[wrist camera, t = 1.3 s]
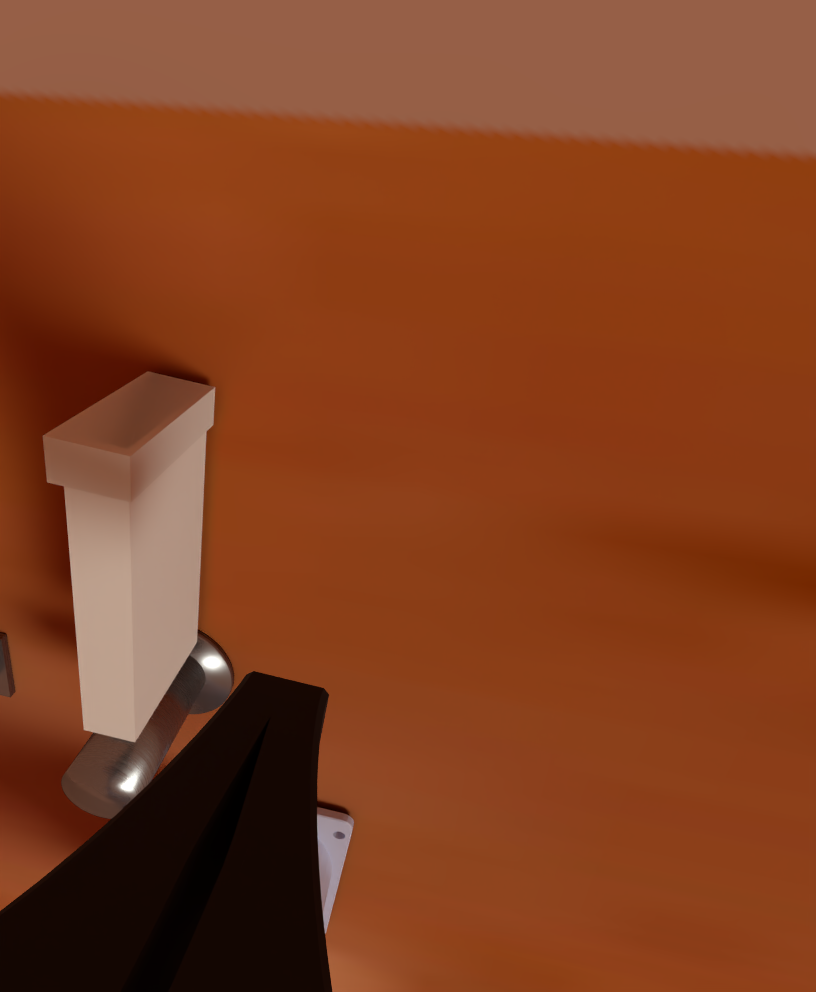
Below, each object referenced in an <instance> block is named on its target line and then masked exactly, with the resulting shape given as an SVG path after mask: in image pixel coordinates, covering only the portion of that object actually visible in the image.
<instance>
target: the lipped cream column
mask: <svg viewBox="0 0 816 992" xmlns="http://www.w3.org/2000/svg"><path fill="white" fill-rule="evenodd" d="M214 400H215V387H212V386H208V385H204V384H200V383H196V382H191V381H187V380H183V379H179V378H174V377H170V376H166V375H162V374H157V373H153V372H149V371H147V372H146V373H144V374H143V375H141V376H139V377H138V378H136V379H134V380H133V381H131V382H129V383H128V384H126V385H125V386H123V387H121V388H120V389H118V390H116V391H115V392H113V393H111V394H110V395H108V396H107V397H105V398H103V399H102V400H100V401H98V402H97V403H95V404H93V405H92V406H90V407H89V408H87V409H85V410H84V411H82V412H80V413H79V414H77V415H76V416H74V417H72V418H71V419H69V420H67V421H66V422H64V423H62V424H61V425H59V426H58V427H56V428H54V429H53V430H51V431H49V432H48V433H46V434H44V435H43V445H44V455H45V466H46V476H47V483H52V484H56V485H60V486H64V493H65V505H66V517H67V529H68V542H69V554H70V566H71V578H72V591H73V603H74V615H75V627H76V640H77V652H78V664H79V676H80V688H81V701H82V713H83V725H84V730H86V731H90V732H94V733H98V734H102V735H107V736H111V737H115V738H119V739H123V740H127V741H131V742H136V740H137V738H138V737H139V735H140V734H141V732H142V730H143V729H144V727H145V726H146V724H147V722H148V721H149V719H150V717H151V716H152V714H153V713H154V711H155V709H156V708H157V706H158V704H159V703H160V701H161V700H162V698H163V696H164V695H165V693H166V692H167V690H168V688H169V687H170V685H171V683H172V682H173V680H174V679H175V677H176V675H177V674H178V672H179V670H180V669H181V667H182V666H183V664H184V662H185V661H186V659H187V658H188V656H189V654H190V653H191V651H192V649H193V648H194V646H195V645H196V643H197V631H198V609H199V586H200V564H201V541H202V519H203V496H204V474H205V451H206V431H207V430H208V429H210V428H211V427H212V426H213V420H214Z"/></svg>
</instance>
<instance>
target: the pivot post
mask: <svg viewBox="0 0 816 992" xmlns="http://www.w3.org/2000/svg"><path fill="white" fill-rule="evenodd" d="M233 684H234V671H233V667H232V664H231V662H230V660H229V658H228V656H227V655H226V653H225V652H224V651H223V649H222V648H221V647H220V646H219V645H218V644H217V643H216V642H215V641H214V640H212V639H211V638H210V637H208V636H207V635H205V634H204V633H202V632H200V631H197V643H196V645H195V646H194V648H193V649H192V651H191V653H190V654H189V656H188V658H187V659H186V661H185V662H184V664H183V666H182V667H181V669H180V670H179V672H178V674H177V675H176V677H175V679H174V680H173V682H172V683H171V685H170V687H169V688H168V690H167V692H166V693H165V695H164V696H163V698H162V700H161V701H160V703H159V704H158V706H157V708H156V709H155V711H154V713H153V714H152V716H151V717H150V719H149V721H148V722H147V724H146V726H145V727H144V729H143V730H142V732H141V734H140V735H139V737H138V738H137V740H136V742H131V741H127V740H123V739H119V738H115V737H111V736H107V735H102V734H98V733H94V732H93V734H92V735H91V737H90V738H89V740H88V741H87V742H86V744H85V745H84V747H83V748H82V750H81V751H80V752H79V754H78V755H77V757H76V758H75V760H74V761H73V762H72V764H71V765H70V767H69V768H68V769H67V771H66V772H65V774H64V775H63V777H62V781H61V785H62V789H63V791H64V793H65V795H66V796H67V797H68V798H69V800H70V801H71V802H73V803H74V804H75V805H76V806H78V807H79V808H81V809H82V810H84V811H86V812H88V813H90V814H92V815H95V816H98V817H102V818H108V819H112V818H113V817H114V816H115V815H116V814H117V813H118V812H120V811H121V810H122V809H123V808H124V807H125V806H126V805H127V804H128V803H129V802H130V801H131V800H132V799H133V798H134V797H135V796H136V795H138V794H139V793H140V792H141V791H142V790H143V789H144V788H145V787H146V786H147V785H148V784H149V783H150V782H151V781H152V779H153V777H154V775H155V773H156V772H157V770H158V768H159V766H160V764H161V763H162V761H163V759H164V757H165V755H166V754H167V752H168V750H169V748H170V746H171V744H172V743H173V741H174V739H175V737H176V735H177V734H178V732H179V730H180V728H181V726H182V725H183V723H184V721H185V719H186V717H187V716H188V714H201V713H205V712H209V711H212V710H214V709H216V708H218V707H219V706H220V705H222V704H223V703H224V702H225V701H226V699H227V697H228V696H229V694H230V692H231V690H232V687H233Z"/></svg>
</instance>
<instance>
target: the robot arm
mask: <svg viewBox="0 0 816 992" xmlns="http://www.w3.org/2000/svg"><path fill="white" fill-rule="evenodd" d="M328 697H329V694H328V693H327V692H326V691H325V689H324V688H321V687H317V686H313V685H308V684H304V683H300V682H296V681H292V680H288V679H284V678H280V677H275V676H271V675H267V674H263V673H259V672H255V671H253V672H251V673H249V674H247V675H246V676H245V677H244V679H243V680H242V681H241V683H240V684H239V685H238V687H237V688H236V689H235V691H234V692H233V693H232V694H231V696H230V697H229V698H228V699H227V700H226V702H225V703H224V704H223V705H222V706H221V708H220V709H219V710H218V711H217V712H216V713H215V715H214V716H213V717H212V718H211V719H210V720H209V721H208V723H207V724H206V725H205V726H204V727H203V728H202V729H201V730H200V731H199V733H198V734H197V735H196V736H195V737H194V738H193V739H192V740H191V741H190V742H189V743H188V744H187V745H186V746H185V747H184V748H183V750H182V751H181V752H180V753H179V754H178V755H177V756H176V757H175V758H174V759H173V760H172V761H171V762H170V763H169V764H168V765H167V766H166V767H165V768H164V769H163V770H162V771H161V772H160V773H159V774H158V775H157V776H156V777H155V778H154V779H153V780H152V781H151V782H150V783H149V784H148V785H147V786H146V787H145V788H144V789H143V790H142V791H141V792H140V793H139V794H138V795H136V796H135V797H134V798H133V799H132V800H131V801H130V802H129V803H128V804H127V805H126V806H125V807H124V808H123V809H122V810H121V811H120V812H118V813H117V814H116V815H115V816H114V817H113V818H112V819H111V820H110V821H109V822H108V823H107V824H106V825H104V826H103V827H102V828H101V829H100V830H99V831H98V832H96V833H95V834H94V835H93V836H92V837H91V838H90V839H89V840H87V841H86V842H85V843H84V844H83V845H82V846H80V847H79V848H78V849H77V850H76V851H75V852H73V853H72V854H71V855H70V856H69V857H67V858H66V859H65V860H64V861H63V862H61V863H60V864H59V865H58V866H57V867H55V868H54V869H53V870H52V871H51V872H49V873H48V874H47V875H46V876H45V877H43V878H42V879H41V880H40V881H38V882H37V883H36V884H35V885H33V886H32V887H31V888H29V889H28V890H27V891H26V892H24V893H23V894H22V895H20V896H19V897H18V898H17V899H15V900H14V901H13V902H11V903H10V904H9V905H8V906H6V907H5V908H4V909H2V910H1V911H0V992H332V986H331V978H330V971H329V963H328V956H327V947H326V938H325V933H326V930H327V926H328V923H329V919H330V915H331V911H332V907H333V903H334V899H335V896H336V892H337V888H338V884H339V880H340V876H341V872H342V868H343V865H344V861H345V857H346V853H347V849H348V845H349V841H350V838H351V834H352V830H353V825H354V821H353V819H352V818H351V817H350V816H349V815H347V814H344V813H340V812H336V811H332V810H328V809H324V808H320V807H317V773H318V756H319V743H320V738H321V733H322V728H323V723H324V718H325V712H326V707H327V702H328Z"/></svg>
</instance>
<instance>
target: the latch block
mask: <svg viewBox="0 0 816 992" xmlns="http://www.w3.org/2000/svg"><path fill="white" fill-rule="evenodd" d="M14 693H15V687H14V680H13V674H12V668H11V661H10V655H9V648H8V642H7V635H6V634H3V633H0V695H3V696H7V697H11V696H12V695H13V694H14Z"/></svg>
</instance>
